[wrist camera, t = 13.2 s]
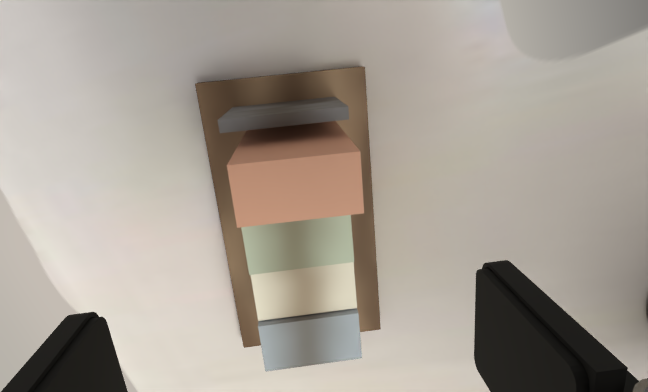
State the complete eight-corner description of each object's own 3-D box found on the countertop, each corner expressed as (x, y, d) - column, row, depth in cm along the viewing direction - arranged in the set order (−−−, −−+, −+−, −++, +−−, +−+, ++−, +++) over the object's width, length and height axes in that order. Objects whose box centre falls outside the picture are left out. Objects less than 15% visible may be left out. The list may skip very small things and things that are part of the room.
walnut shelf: (361, 66, 34) (390, 68, 24) (377, 319, 41) (404, 397, 32) (199, 82, 33) (163, 91, 24) (245, 337, 41) (232, 421, 31)
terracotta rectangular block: (335, 120, 33) (360, 151, 22) (338, 163, 34) (364, 213, 23) (247, 129, 33) (226, 165, 22) (253, 172, 34) (237, 227, 23)
